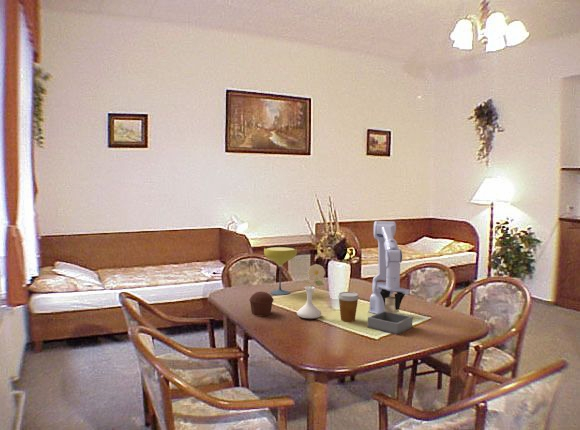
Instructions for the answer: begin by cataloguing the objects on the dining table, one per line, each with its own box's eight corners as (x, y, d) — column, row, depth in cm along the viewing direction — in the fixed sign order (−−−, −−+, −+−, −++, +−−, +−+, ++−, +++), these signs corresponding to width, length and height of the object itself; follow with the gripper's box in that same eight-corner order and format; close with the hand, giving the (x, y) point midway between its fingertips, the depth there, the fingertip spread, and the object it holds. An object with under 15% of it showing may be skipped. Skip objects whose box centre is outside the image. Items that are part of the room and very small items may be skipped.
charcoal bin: (367, 327, 208) (367, 317, 207) (383, 320, 218) (384, 310, 218) (397, 334, 199) (397, 324, 198) (412, 327, 210) (412, 316, 209)
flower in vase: (293, 318, 219) (294, 264, 217) (301, 312, 230) (302, 260, 228) (320, 322, 214) (322, 266, 212) (327, 315, 225) (329, 262, 223)
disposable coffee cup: (360, 318, 221) (360, 292, 220) (356, 324, 212) (356, 297, 211) (339, 316, 225) (340, 290, 224) (335, 321, 216) (335, 295, 215)
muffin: (244, 313, 227) (244, 292, 226) (261, 308, 235) (261, 288, 234) (261, 318, 219) (261, 296, 218) (278, 313, 227) (278, 292, 226)
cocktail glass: (276, 287, 280) (277, 244, 278) (302, 292, 269) (303, 248, 267) (256, 293, 265) (257, 248, 263) (283, 298, 255) (283, 251, 253)
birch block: (384, 311, 208) (385, 297, 208) (389, 309, 212) (390, 296, 211) (394, 313, 205) (394, 299, 205) (399, 311, 209) (399, 297, 208)
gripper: (373, 276, 209) (372, 306, 210) (404, 281, 199) (403, 313, 200) (381, 273, 214) (380, 303, 215) (411, 278, 205) (410, 309, 206)
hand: (392, 308), depth 208 cm, fingers closed on birch block, 4 cm apart
